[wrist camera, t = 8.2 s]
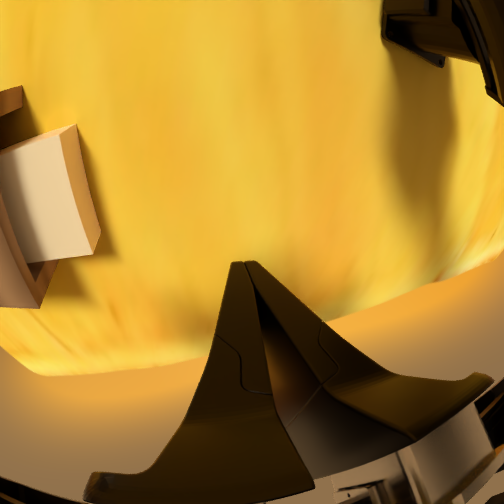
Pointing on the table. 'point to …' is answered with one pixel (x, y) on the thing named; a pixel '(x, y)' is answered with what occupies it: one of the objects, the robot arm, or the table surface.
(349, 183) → the table surface
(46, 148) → the beige block
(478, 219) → the table surface
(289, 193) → the table surface
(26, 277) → the wood grain block
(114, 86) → the table surface
